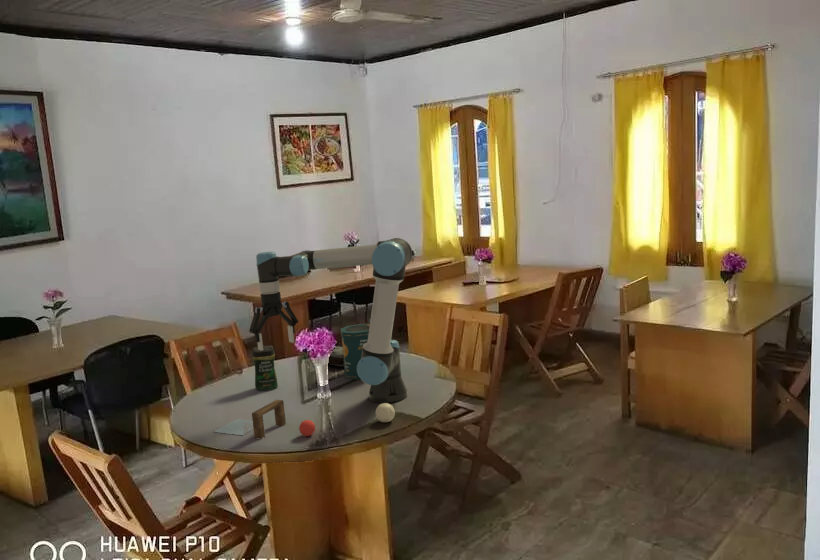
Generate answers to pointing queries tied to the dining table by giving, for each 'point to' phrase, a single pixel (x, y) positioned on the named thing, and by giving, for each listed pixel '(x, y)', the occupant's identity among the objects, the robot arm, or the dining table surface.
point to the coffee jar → (264, 368)
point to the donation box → (353, 347)
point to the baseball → (385, 412)
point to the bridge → (258, 415)
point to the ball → (307, 428)
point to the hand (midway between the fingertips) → (276, 346)
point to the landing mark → (234, 427)
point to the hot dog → (337, 357)
